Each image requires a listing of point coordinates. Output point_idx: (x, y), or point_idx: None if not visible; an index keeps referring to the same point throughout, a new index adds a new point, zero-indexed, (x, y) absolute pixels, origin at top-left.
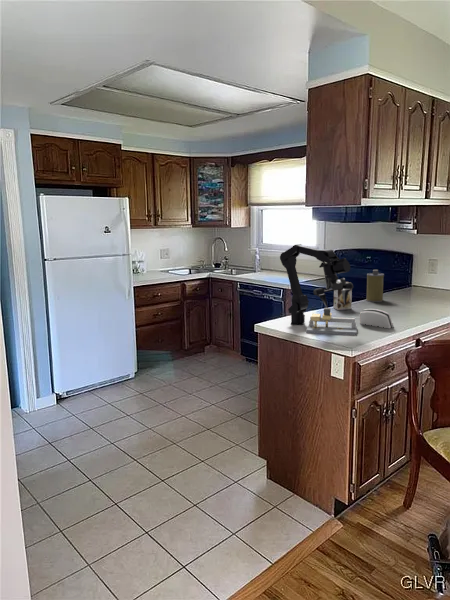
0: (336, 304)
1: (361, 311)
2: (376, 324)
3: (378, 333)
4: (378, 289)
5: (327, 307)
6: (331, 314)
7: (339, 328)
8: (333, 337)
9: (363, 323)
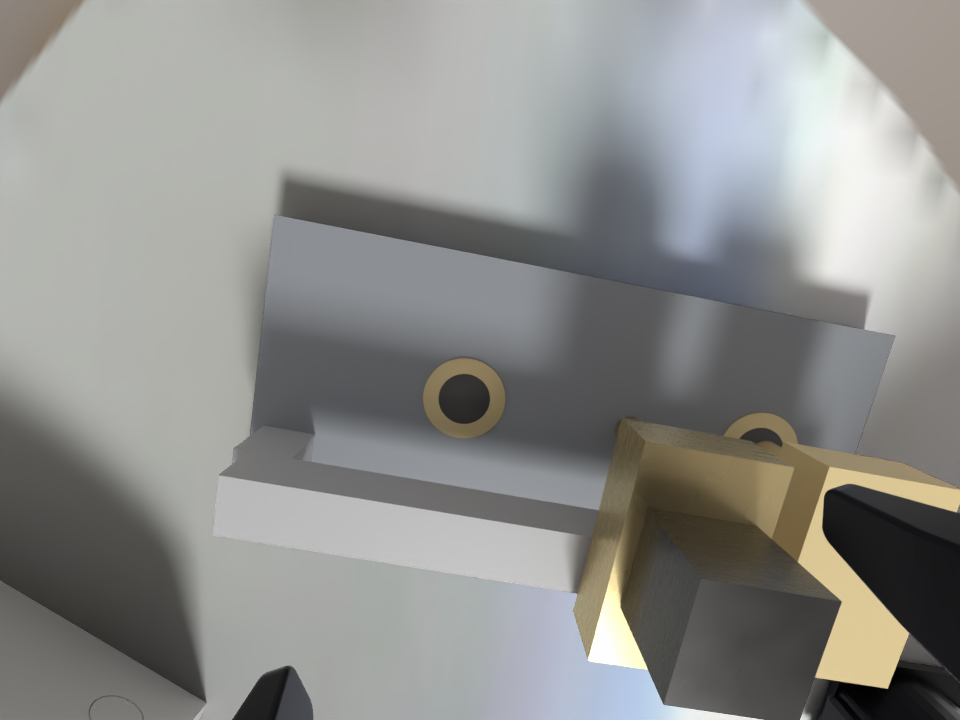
0: None
1: None
2: (6, 606)
3: (18, 299)
4: None
5: (851, 484)
6: (594, 607)
7: (472, 390)
8: (577, 124)
9: (162, 685)
